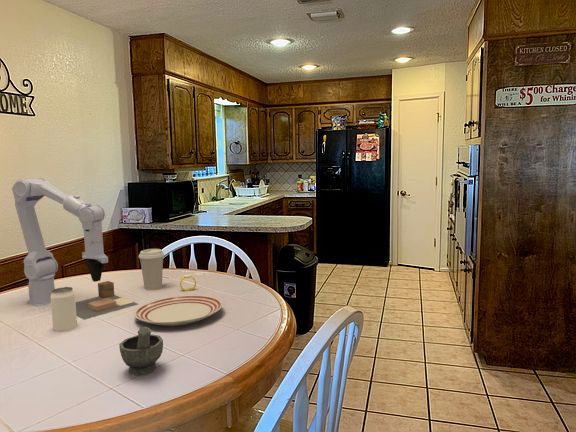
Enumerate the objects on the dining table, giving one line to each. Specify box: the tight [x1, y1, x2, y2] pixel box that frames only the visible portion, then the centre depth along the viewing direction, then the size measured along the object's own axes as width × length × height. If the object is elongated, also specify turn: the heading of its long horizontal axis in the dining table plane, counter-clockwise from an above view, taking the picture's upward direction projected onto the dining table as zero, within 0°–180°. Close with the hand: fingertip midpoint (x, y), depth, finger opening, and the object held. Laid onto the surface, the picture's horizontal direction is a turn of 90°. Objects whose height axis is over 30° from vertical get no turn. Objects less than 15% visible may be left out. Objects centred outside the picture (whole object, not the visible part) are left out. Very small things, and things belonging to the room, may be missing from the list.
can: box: [50, 286, 78, 332], centre depth 132 cm, size 6×6×12 cm
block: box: [97, 280, 115, 298], centre depth 162 cm, size 4×4×5 cm
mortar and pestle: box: [118, 326, 164, 377], centre depth 104 cm, size 11×9×12 cm
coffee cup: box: [138, 248, 165, 291], centre depth 172 cm, size 10×10×15 cm
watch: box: [179, 274, 197, 292], centre depth 169 cm, size 6×3×6 cm, turn 108°
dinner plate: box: [133, 294, 223, 327], centre depth 141 cm, size 27×27×3 cm
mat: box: [75, 294, 139, 320], centre depth 152 cm, size 20×19×1 cm
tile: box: [88, 298, 117, 311], centre depth 150 cm, size 2×7×6 cm
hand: (96, 280), depth 151 cm, fingers closed
